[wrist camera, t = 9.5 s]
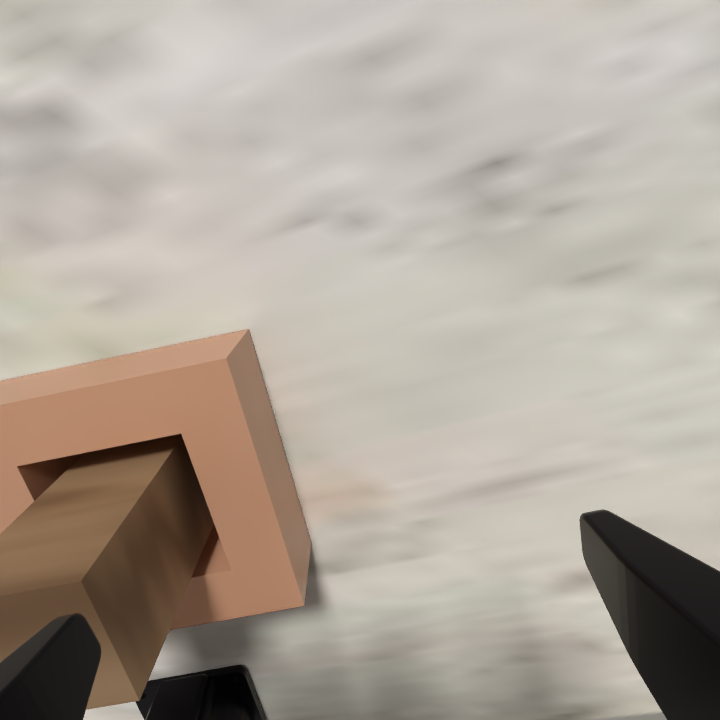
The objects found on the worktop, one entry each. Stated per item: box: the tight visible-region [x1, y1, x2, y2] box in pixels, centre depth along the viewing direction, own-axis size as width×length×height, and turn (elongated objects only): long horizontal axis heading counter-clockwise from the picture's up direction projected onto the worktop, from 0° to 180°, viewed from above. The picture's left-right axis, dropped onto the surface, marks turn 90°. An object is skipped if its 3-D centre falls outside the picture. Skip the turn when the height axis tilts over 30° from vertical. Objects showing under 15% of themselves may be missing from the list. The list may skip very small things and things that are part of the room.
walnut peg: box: [0, 434, 214, 709], centre depth 18 cm, size 4×4×10 cm
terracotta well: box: [0, 329, 311, 630], centre depth 21 cm, size 12×12×4 cm
